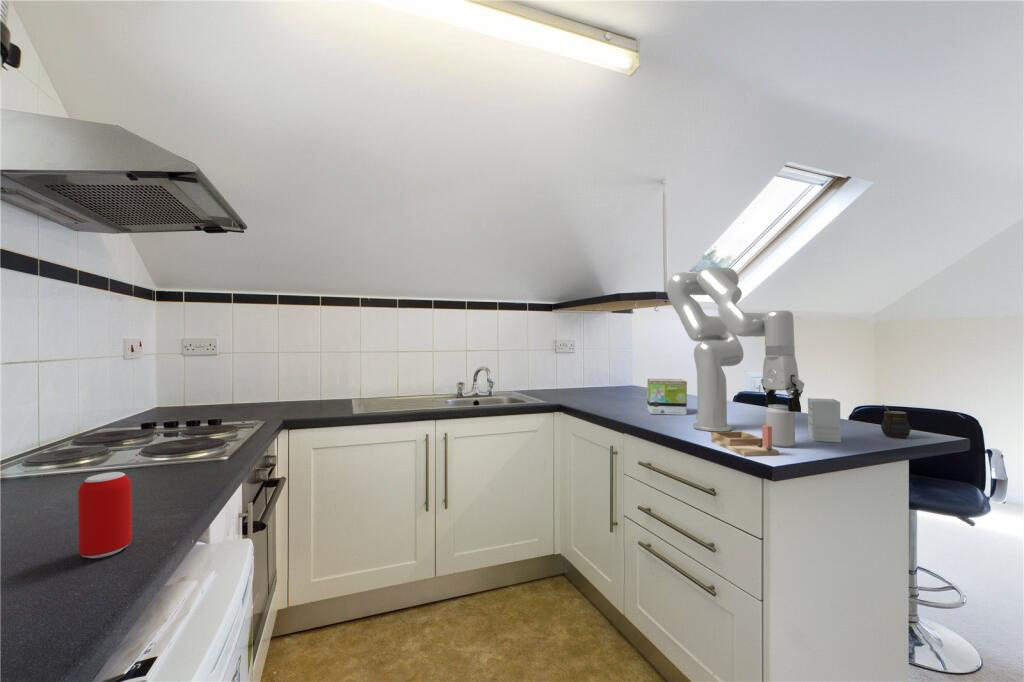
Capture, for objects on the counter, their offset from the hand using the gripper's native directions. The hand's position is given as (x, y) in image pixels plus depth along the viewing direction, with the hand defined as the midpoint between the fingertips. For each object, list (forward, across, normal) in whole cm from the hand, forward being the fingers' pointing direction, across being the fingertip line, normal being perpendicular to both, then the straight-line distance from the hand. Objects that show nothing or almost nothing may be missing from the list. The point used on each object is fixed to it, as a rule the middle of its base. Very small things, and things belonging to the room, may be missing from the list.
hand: (782, 409), depth 131 cm
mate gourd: (+11, -7, +43) cm, 45 cm away
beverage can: (+12, +51, -149) cm, 158 cm away
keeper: (+6, +7, -11) cm, 14 cm away
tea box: (+9, -61, -9) cm, 62 cm away
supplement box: (+11, -6, +18) cm, 22 cm away
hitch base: (+11, +1, -13) cm, 17 cm away
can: (+11, -1, 0) cm, 11 cm away
